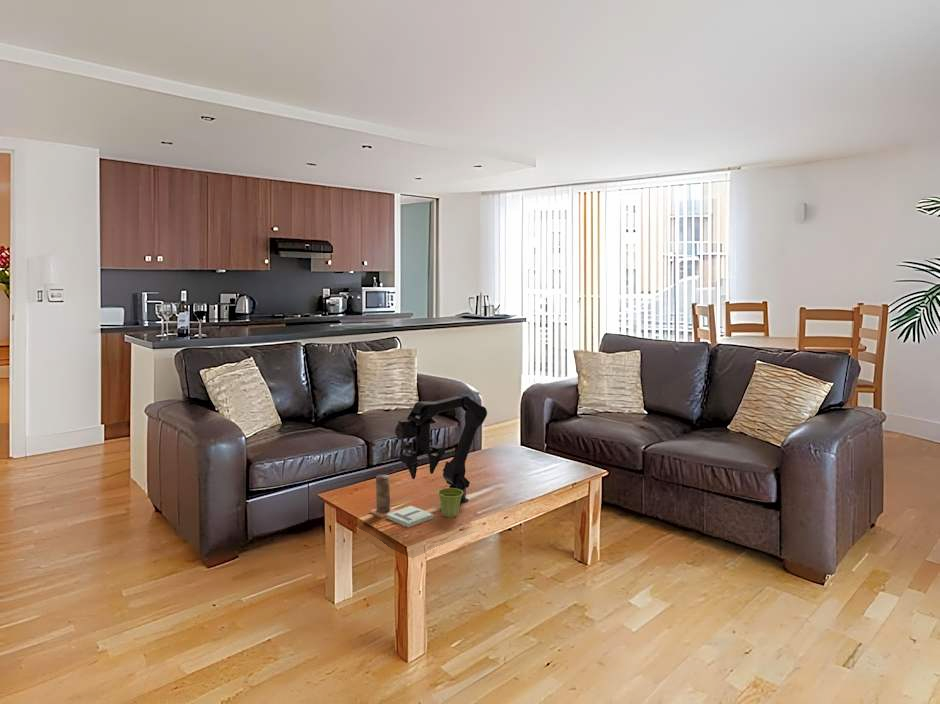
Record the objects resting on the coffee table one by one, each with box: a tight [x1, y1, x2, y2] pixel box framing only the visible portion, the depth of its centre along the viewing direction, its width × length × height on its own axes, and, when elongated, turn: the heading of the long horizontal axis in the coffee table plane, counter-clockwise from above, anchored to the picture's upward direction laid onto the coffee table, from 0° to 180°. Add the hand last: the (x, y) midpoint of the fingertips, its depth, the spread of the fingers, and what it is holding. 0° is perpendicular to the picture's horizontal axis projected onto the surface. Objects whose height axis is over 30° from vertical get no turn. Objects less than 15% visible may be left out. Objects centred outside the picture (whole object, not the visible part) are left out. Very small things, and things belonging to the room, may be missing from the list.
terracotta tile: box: [369, 507, 397, 518], centre depth 238 cm, size 7×7×1 cm
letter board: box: [386, 505, 434, 528], centre depth 233 cm, size 12×12×2 cm
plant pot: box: [437, 487, 463, 518], centre depth 236 cm, size 9×9×9 cm
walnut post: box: [375, 474, 391, 513], centre depth 237 cm, size 5×5×13 cm
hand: (422, 476), depth 240 cm, fingers open, 9 cm apart
